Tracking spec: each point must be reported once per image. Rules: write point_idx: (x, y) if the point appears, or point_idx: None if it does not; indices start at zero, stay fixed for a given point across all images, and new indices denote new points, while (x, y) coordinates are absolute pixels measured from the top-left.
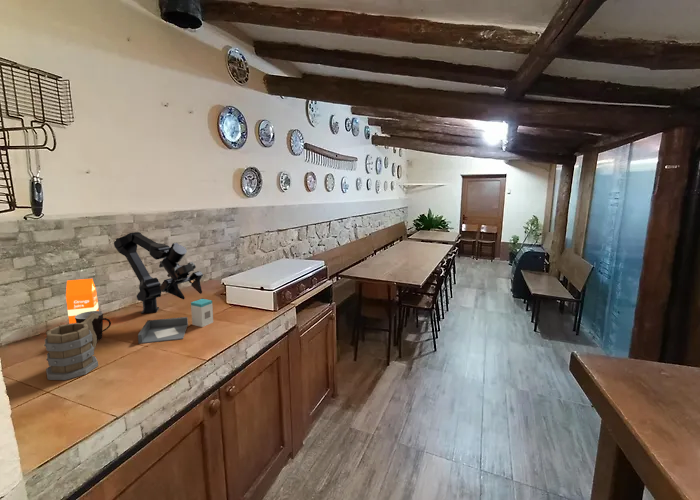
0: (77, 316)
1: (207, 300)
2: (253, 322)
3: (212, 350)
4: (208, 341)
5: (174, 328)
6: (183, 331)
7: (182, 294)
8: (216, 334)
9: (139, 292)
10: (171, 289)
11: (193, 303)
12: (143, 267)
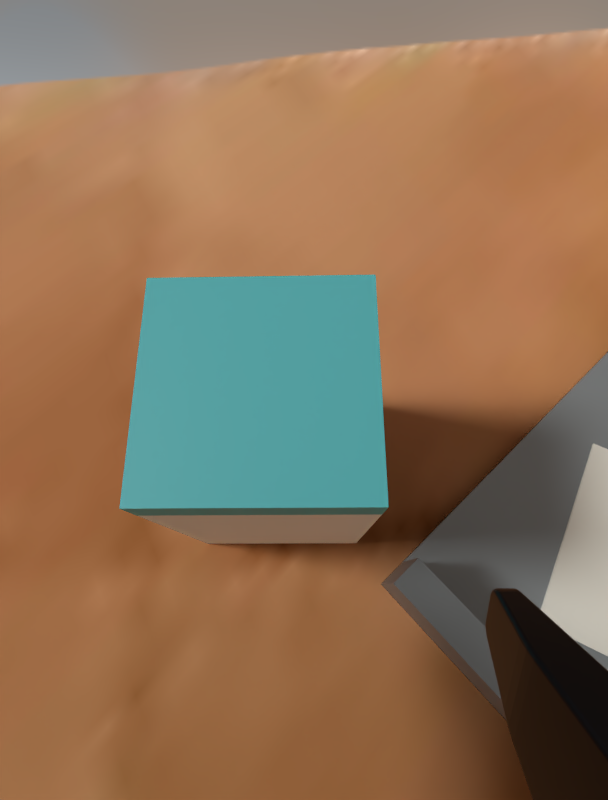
0: None
1: (170, 344)
2: (90, 137)
3: (586, 66)
4: (517, 166)
5: (549, 596)
6: (534, 451)
7: (559, 663)
8: (401, 202)
9: None
10: None
11: (383, 442)
12: None
